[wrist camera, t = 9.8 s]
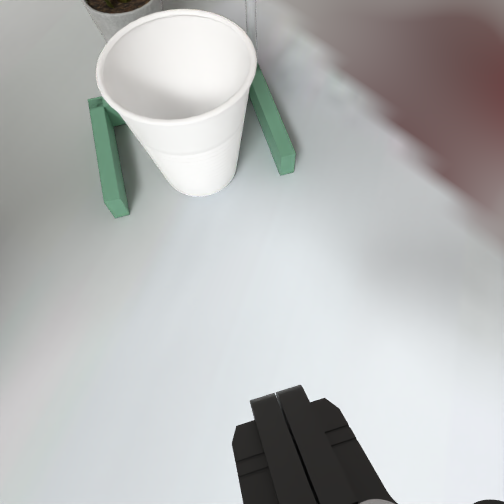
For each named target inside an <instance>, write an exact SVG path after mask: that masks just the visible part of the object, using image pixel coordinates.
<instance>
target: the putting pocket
mask: <svg viewBox="0 0 504 504" xmlns="http://www.w3.org/2000/svg"><path fill="white" fill-rule="evenodd" d="M245 1H246V26H247V35H248V36H249V38H250V39H251V41H252V43H253V46H254V48H255V51H256V57H257V35H256V0H245ZM248 95H249V96H250V99H251V102H252V104H253V107H254V109H255V112H256V114H257V117H258V120H259V122H260V125H261V127H262V130H263V133H264V135H265V138H266V140H267V143H268V145H269V148H270V151H271V153H272V156H273V158H274V161H275V163H276V166H277V169H278V171H279V174H280V176H281V175H285V174H288V173H292V172H294V164H295V156H296V153H295V150H294V148H293V146H292V143H291V141H290V139H289V136H288V134H287V131H286V129H285V127H284V124H283V122H282V119H281V117H280V115H279V112H278V110H277V107H276V105H275V103H274V100H273V98H272V96H271V93H270V91H269V88H268V86H267V84H266V81H265V79H264V76H263V74H262V72H261V69H260V67H259V65H258V62H257V67H256V73H255V77H254V79H253V81H252V83H251V86H250V88H249V94H248ZM88 103H89V109H90V116H91V122H92V129H93V135H94V141H95V148H96V154H97V161H98V167H99V173H100V180H101V186H102V193H103V199H104V203H105V204H106V206H107V207H108V209H109V210H110V212H111V213H112V214H113V216H114V217H115V218H118V217H122V216H126V215H129V208H128V203H127V198H126V192H125V187H124V181H123V176H122V171H121V165H120V160H119V154H118V149H117V144H116V138H115V133H114V126H118V125H122V124H126V123H125V121H124V120H123V118H122V117H121V116H120V114H119V113H118V112H117V111H116V110H114V109H113V108H112V107H111V106H110V105H109V104H108V103H107V102H106V100H105V99H104V98H103V97H102V96H101V97H97V98H93V99H88Z"/></svg>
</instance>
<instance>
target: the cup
mask: <svg viewBox="0 0 504 504" xmlns="http://www.w3.org/2000/svg"><path fill="white" fill-rule="evenodd" d="M256 67H257V57H256V51H255V48H254V46H253V43H252V41H251V39H250V38H249V36H248V35H247V34H246V32H245V31H244V30H243V29H242V28H240V27H239V26H238V25H237V24H236V23H234V22H233V21H231V20H229V19H227V18H225V17H223V16H221V15H218V14H215V13H212V12H208V11H203V10H197V9H173V10H166V11H161V12H156V13H153V14H150V15H147V16H144V17H141V18H139V19H137V20H135V21H133V22H131V23H129V24H128V25H126V26H125V27H123V28H122V29H121V30H119V31H118V32H117V33H116V34H115V35H114V36H113V37H112V38H111V39H110V40H109V41H108V42H107V44H106V45H105V47H104V48H103V50H102V51H101V53H100V56H99V59H98V61H97V67H96V79H97V86H98V88H99V90H100V92H101V95H102V97H103V98H104V99H105V100H106V102H107V103H108V104H109V105H110V106H111V107H112V108H113V109H114V110H116V111H117V112H118V113H119V114H120V116H121V117H122V118H123V120H124V121H125V123H126V124H127V125H128V127H129V128H130V129H131V131H132V132H133V134H134V135H135V136H136V138H137V139H138V140H139V142H140V143H141V144H142V146H143V147H144V148H145V150H146V151H147V153H148V154H149V155H150V157H151V158H152V159H153V161H154V162H155V164H156V165H157V166H158V168H159V169H160V171H161V172H162V174H163V175H164V177H165V178H166V179H167V181H168V182H169V183H170V184H171V186H172V187H173V188H174V189H176V190H177V191H179V192H181V193H183V194H185V195H189V196H196V197H200V196H208V195H212V194H214V193H217V192H219V191H220V190H222V189H223V188H225V187H226V186H227V185H228V184H229V183H230V182H231V180H232V179H233V177H234V175H235V172H236V167H237V161H238V155H239V149H240V143H241V137H242V130H243V124H244V118H245V113H246V107H247V101H248V94H249V88H250V86H251V83H252V81H253V79H254V77H255V73H256Z"/></svg>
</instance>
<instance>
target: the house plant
mask: <svg viewBox="0 0 504 504" xmlns="http://www.w3.org/2000/svg"><path fill="white" fill-rule="evenodd" d="M82 2H83V4H84V5H85V7H86V9H87V10H88V12H89V14H90V15H91V17H92V19H93V20H94V22H95V24H96V25H97V27H98V29H99V30H100V32H101V34H102V35H103V37H104V39H105V40H106V42H108V41H109V40H110V39H111V38H112V37H113V36H114V35H115V34H116V33H117V32H118V31H119V30H121V29H122V28H123V27H125V26H126V25H128V24H129V23H131V22H133V21H135V20H137V19H139V18H141V17H144V16H147V15H150V14H153V13H156V12H161V11H163V7H162V0H82Z"/></svg>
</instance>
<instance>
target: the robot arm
mask: <svg viewBox="0 0 504 504" xmlns="http://www.w3.org/2000/svg"><path fill="white" fill-rule="evenodd" d="M276 396H277V398H276ZM250 404H251V408H252V412H253V416H254V421H251V422H247V423H244V424H241V425H238V426H236V430H235V433H234V437H233V441H232V447H233V452H234V457H235V462H236V467H237V472H238V477H239V483H240V488H241V493H242V498H243V503H244V504H398V503H396V502H395V501H394V500H393V499H392V497H391V496H390V495H389V494H388V492H387V491H386V489H385V487H384V485H383V484H382V482H381V480H380V478H379V477H378V475H377V473H376V472H375V470H374V468H373V466H372V465H371V463H370V461H369V459H368V458H367V456H366V454H365V452H364V451H363V449H362V447H361V446H360V444H359V442H358V441H357V440H356V437H355V435H354V433H353V432H352V430H351V428H349V425H348V423H347V421H346V419H345V418H344V416H343V414H342V413H341V411H340V409H339V408H338V407H336V406H335V405H334V404H332V403H331V402H330V401H328V400H327V399H326V398H323V399H320V400H316V401H313V402H309V400H308V398H307V395H306V393H305V391H304V389H303V387H302V386H301V385H298V386H295V387H292V388H288V389H285V390H282V391H279V392H276V395H275V393H273V394H269V395H266V396H263V397H260V398H256V399H253V400H250ZM474 504H504V502H503V501H499V500H482V501H478V502H476V503H474Z"/></svg>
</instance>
